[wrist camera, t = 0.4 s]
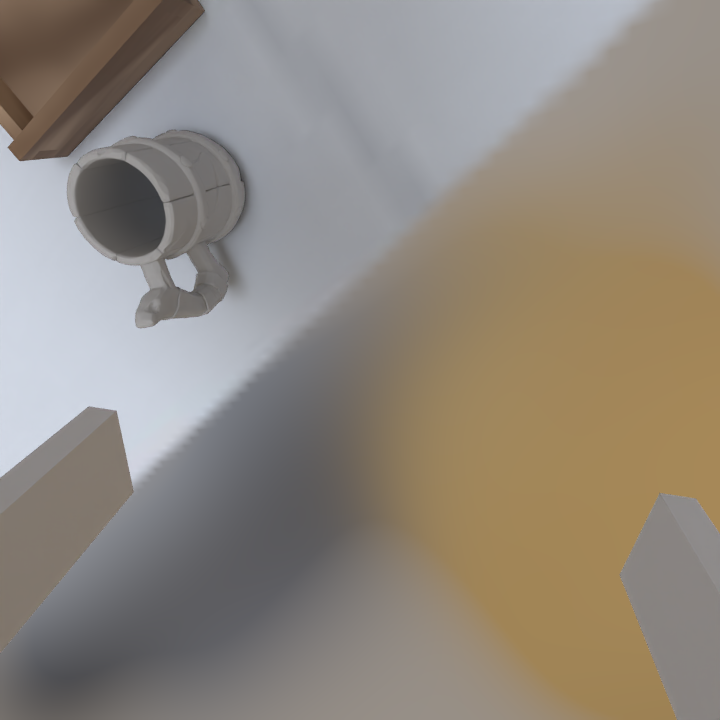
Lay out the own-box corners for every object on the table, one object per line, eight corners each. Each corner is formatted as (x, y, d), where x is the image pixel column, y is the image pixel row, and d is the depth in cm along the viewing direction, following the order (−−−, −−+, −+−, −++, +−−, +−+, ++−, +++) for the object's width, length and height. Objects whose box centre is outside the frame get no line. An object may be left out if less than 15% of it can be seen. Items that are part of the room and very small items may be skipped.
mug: (228, 116, 32) (123, 115, 21) (279, 280, 37) (215, 345, 26) (134, 143, 34) (-5, 155, 23) (195, 296, 39) (103, 362, 28)
